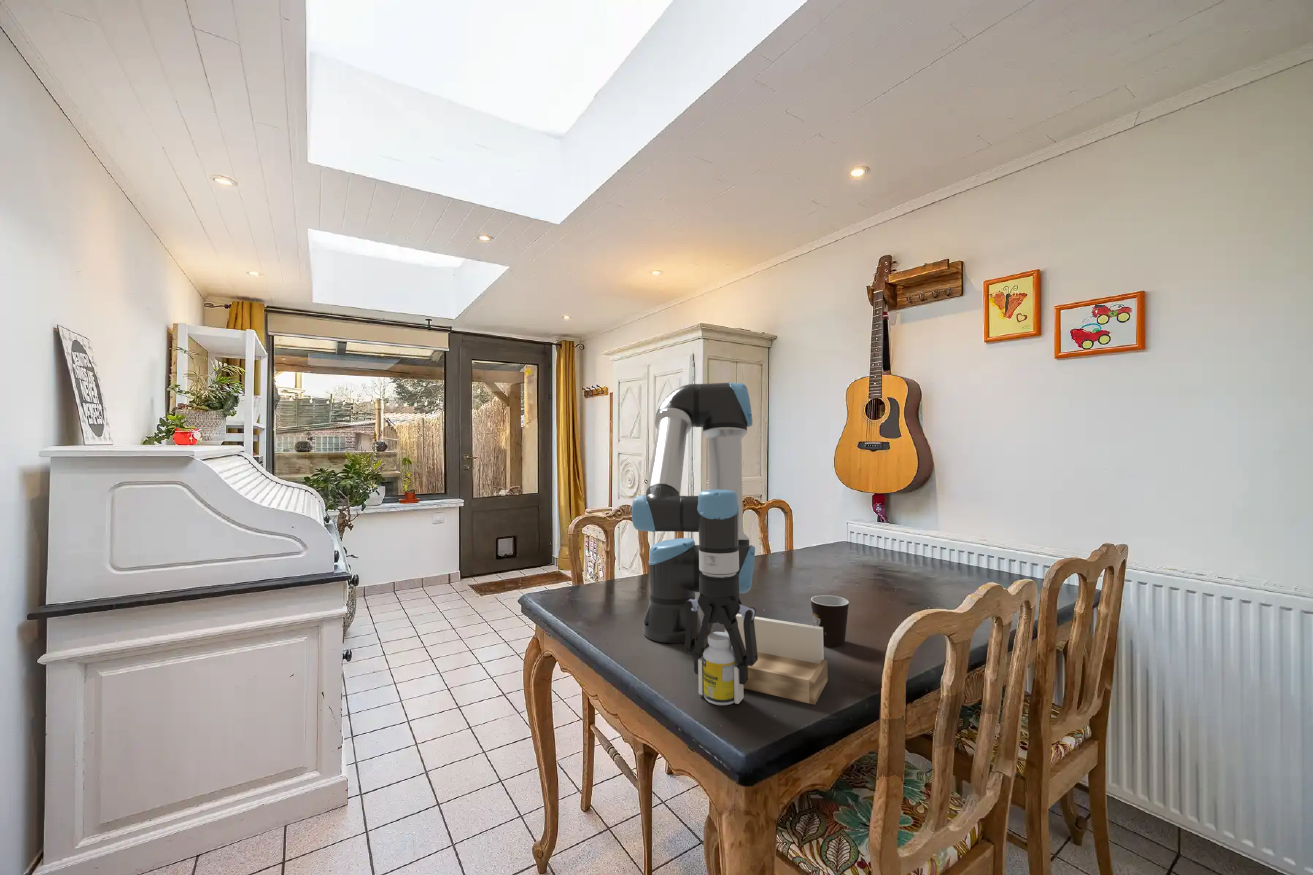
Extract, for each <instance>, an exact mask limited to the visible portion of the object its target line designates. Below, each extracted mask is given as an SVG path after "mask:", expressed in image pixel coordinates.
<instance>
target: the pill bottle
mask: <svg viewBox="0 0 1313 875" xmlns="http://www.w3.org/2000/svg"><path fill="white" fill-rule="evenodd" d="M707 644H708V646H707V647H705V650H704V653H703V680H704V694H703V697H704V699H705V700H706V701H707V702H708V703H710V704H713V705H717V706H728V705H732V704H735V703H734V666H735V665H736V664H737V660H736V657H735V654H734V651H733V648H732V647H731V646H732V645H731V641H730V638H729V635H728V633H726V632H725V631H713V632H710V634H709V635H708V640H707Z"/></svg>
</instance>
